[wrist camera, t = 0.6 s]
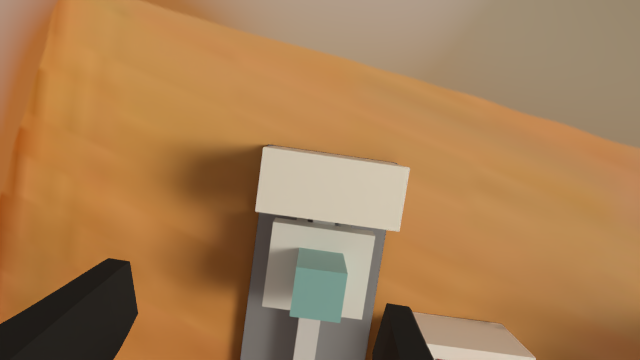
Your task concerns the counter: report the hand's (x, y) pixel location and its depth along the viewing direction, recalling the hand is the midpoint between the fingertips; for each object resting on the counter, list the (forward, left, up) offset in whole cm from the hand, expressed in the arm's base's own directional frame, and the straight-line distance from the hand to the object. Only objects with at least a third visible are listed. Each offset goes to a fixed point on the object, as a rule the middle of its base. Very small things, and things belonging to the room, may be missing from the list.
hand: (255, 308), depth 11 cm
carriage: (-4, -2, -18) cm, 19 cm away
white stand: (-8, -2, -20) cm, 21 cm away
